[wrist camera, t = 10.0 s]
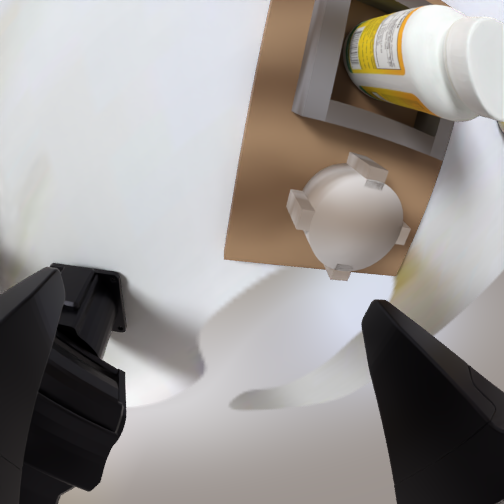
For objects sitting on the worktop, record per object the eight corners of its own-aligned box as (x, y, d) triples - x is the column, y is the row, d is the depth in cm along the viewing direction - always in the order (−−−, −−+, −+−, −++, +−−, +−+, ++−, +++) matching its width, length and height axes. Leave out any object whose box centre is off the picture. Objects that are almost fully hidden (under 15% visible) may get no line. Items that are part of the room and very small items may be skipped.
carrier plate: (390, 269, 23) (411, 299, 20) (224, 251, 21) (224, 287, 18) (463, 22, 12) (499, 22, 9) (284, -58, 10) (298, -86, 6)
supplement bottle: (322, 41, 13) (424, 13, 5) (389, 9, 12) (505, -11, 3) (369, 116, 16) (482, 164, 7) (428, 81, 14) (546, 110, 6)
